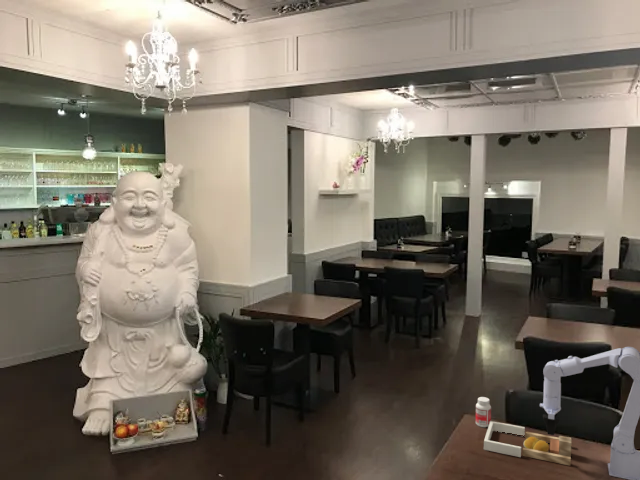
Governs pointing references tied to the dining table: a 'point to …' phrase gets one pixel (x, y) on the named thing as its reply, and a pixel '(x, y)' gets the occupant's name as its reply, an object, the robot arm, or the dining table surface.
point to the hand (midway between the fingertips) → (551, 429)
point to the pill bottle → (483, 412)
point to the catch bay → (503, 447)
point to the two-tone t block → (561, 446)
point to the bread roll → (536, 444)
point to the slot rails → (545, 455)
